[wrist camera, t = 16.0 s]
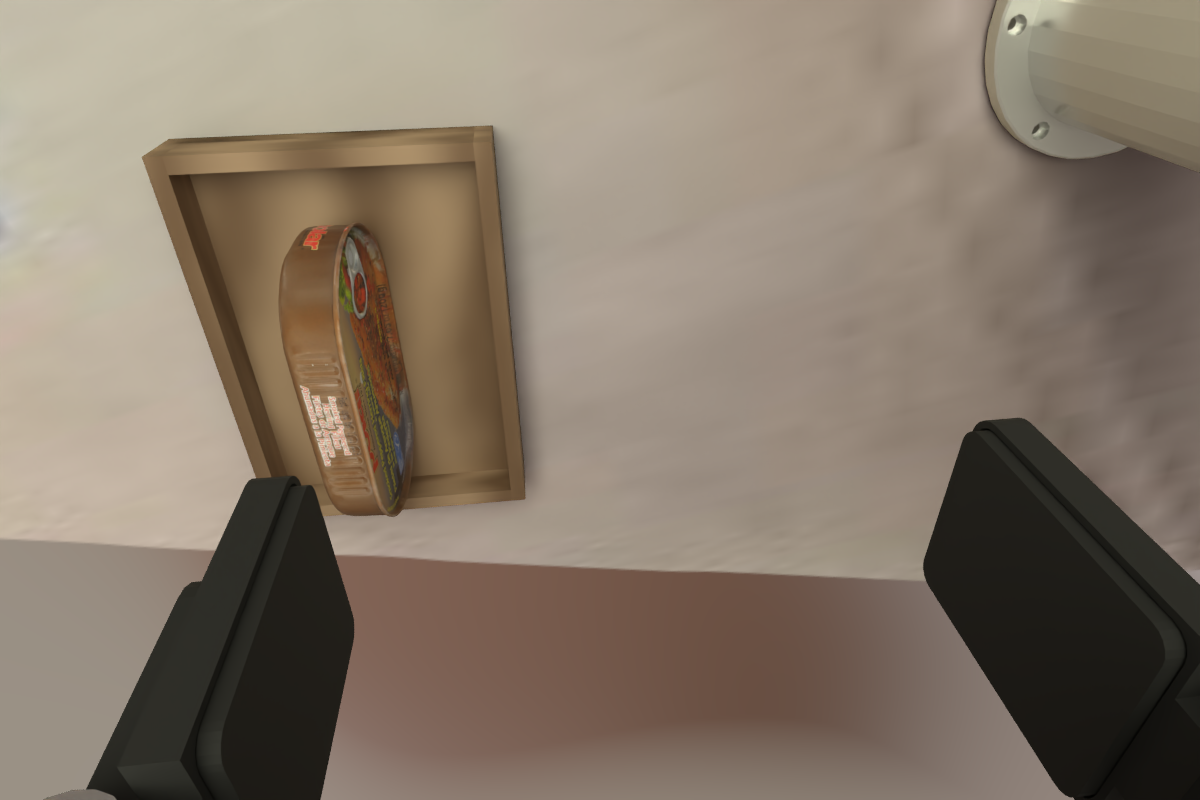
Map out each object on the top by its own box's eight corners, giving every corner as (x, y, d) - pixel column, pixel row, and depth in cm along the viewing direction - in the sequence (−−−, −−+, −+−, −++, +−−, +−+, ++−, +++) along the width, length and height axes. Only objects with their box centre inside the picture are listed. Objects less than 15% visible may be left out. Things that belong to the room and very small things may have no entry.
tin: (420, 448, 43) (404, 552, 36) (366, 453, 43) (339, 558, 36) (373, 196, 34) (339, 266, 27) (305, 199, 34) (253, 271, 27)
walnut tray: (492, 125, 34) (491, 141, 32) (524, 467, 46) (525, 499, 43) (169, 138, 33) (141, 156, 31) (284, 486, 44) (271, 520, 42)
